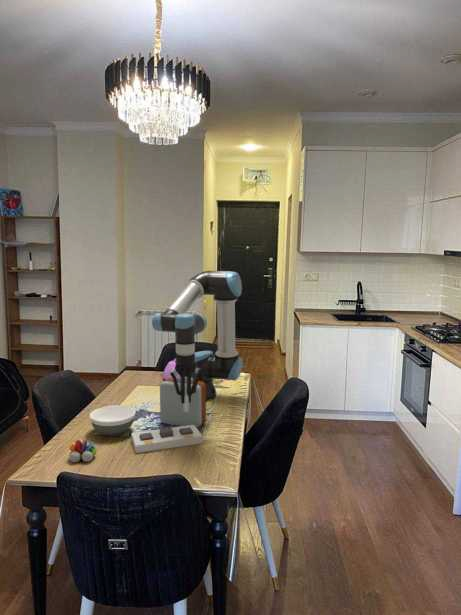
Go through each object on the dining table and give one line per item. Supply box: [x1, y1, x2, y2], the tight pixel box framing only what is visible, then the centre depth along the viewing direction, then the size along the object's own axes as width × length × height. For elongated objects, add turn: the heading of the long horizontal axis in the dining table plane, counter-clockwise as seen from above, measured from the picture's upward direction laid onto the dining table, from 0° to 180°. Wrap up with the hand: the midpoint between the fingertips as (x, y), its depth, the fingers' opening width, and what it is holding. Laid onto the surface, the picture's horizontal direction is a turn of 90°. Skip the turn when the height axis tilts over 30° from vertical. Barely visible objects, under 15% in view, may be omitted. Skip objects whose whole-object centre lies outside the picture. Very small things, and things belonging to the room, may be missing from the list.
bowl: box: [89, 404, 137, 437], centre depth 195 cm, size 19×19×8 cm
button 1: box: [140, 433, 153, 441], centre depth 183 cm, size 4×4×3 cm
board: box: [131, 425, 203, 454], centre depth 186 cm, size 26×12×3 cm, turn 110°
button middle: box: [159, 426, 173, 438], centre depth 186 cm, size 4×4×3 cm
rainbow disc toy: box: [69, 438, 97, 463], centre depth 172 cm, size 8×10×7 cm
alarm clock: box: [159, 376, 207, 429], centre depth 204 cm, size 18×9×21 cm, turn 71°
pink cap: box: [162, 358, 180, 381], centre depth 267 cm, size 22×16×12 cm
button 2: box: [180, 427, 193, 435], centre depth 188 cm, size 4×4×3 cm
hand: (186, 410), depth 187 cm, fingers closed
